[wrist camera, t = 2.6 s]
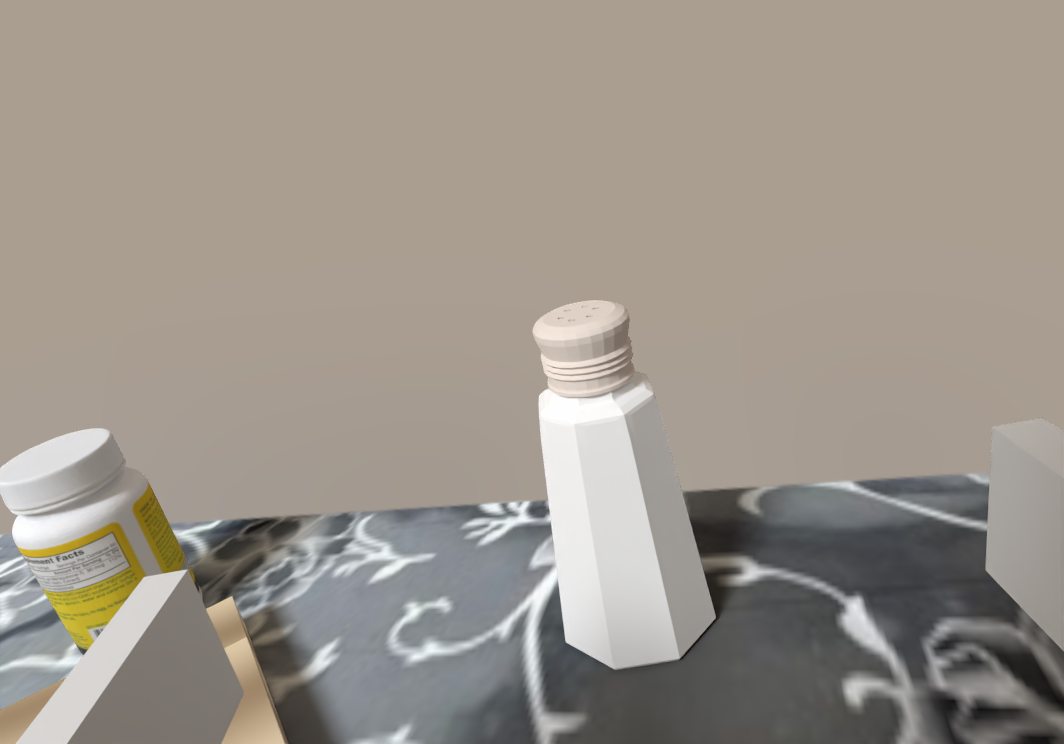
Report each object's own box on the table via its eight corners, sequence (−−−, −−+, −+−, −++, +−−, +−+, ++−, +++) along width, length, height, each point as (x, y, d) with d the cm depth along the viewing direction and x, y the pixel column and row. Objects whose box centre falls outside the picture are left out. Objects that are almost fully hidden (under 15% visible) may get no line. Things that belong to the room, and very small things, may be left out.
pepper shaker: (587, 555, 28) (529, 289, 24) (728, 567, 26) (691, 274, 22) (536, 660, 24) (453, 355, 19) (701, 686, 21) (647, 346, 17)
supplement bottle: (158, 580, 33) (76, 420, 30) (228, 594, 31) (149, 422, 27) (59, 659, 29) (-47, 483, 26) (132, 681, 27) (26, 492, 24)
